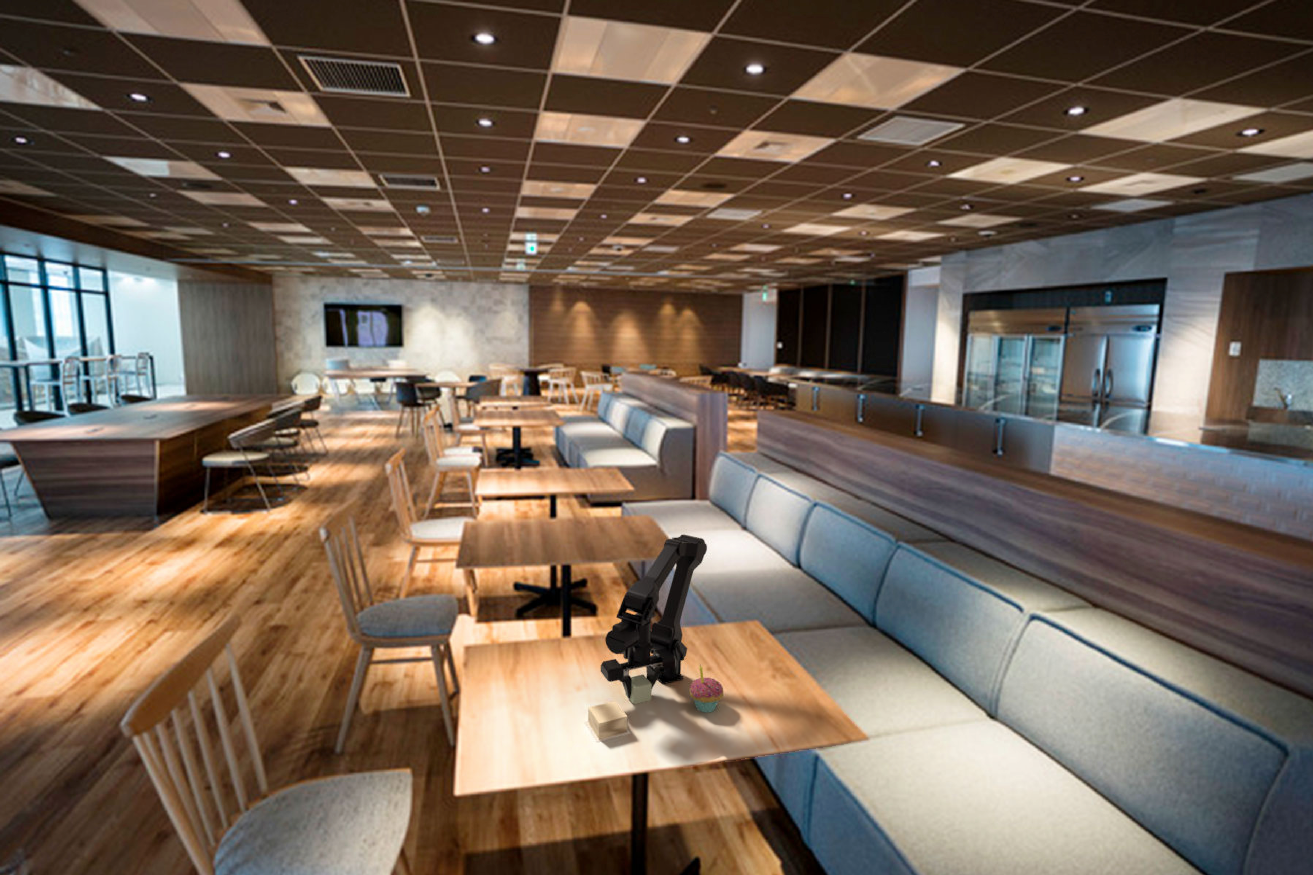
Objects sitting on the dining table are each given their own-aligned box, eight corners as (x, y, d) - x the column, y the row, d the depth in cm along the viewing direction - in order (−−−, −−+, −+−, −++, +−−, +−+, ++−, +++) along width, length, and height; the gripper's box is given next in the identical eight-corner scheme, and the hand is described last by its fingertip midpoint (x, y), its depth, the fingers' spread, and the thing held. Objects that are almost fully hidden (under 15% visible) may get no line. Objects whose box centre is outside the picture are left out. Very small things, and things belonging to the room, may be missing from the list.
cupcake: (699, 719, 160) (701, 673, 159) (682, 702, 168) (683, 658, 166) (729, 711, 164) (731, 666, 162) (711, 694, 172) (712, 651, 170)
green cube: (642, 692, 172) (643, 674, 171) (651, 701, 168) (651, 683, 167) (625, 696, 170) (625, 678, 169) (633, 706, 166) (633, 687, 165)
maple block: (615, 716, 160) (615, 700, 160) (627, 731, 154) (627, 716, 153) (588, 722, 157) (588, 707, 157) (598, 739, 151) (598, 723, 150)
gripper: (658, 618, 177) (657, 672, 180) (592, 631, 169) (592, 687, 172) (678, 636, 168) (676, 693, 170) (609, 650, 159) (608, 710, 162)
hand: (638, 695), depth 169 cm, fingers closed on green cube, 5 cm apart
